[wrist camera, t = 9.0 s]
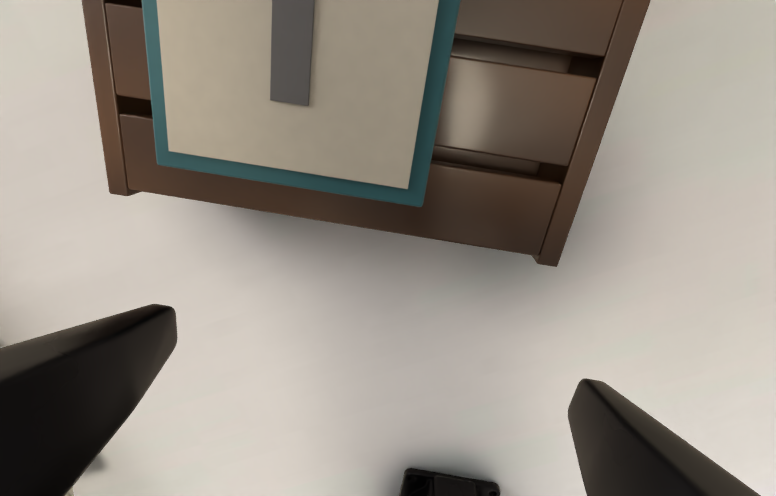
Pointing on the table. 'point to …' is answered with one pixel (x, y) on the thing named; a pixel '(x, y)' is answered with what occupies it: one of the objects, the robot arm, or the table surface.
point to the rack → (454, 131)
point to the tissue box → (301, 90)
